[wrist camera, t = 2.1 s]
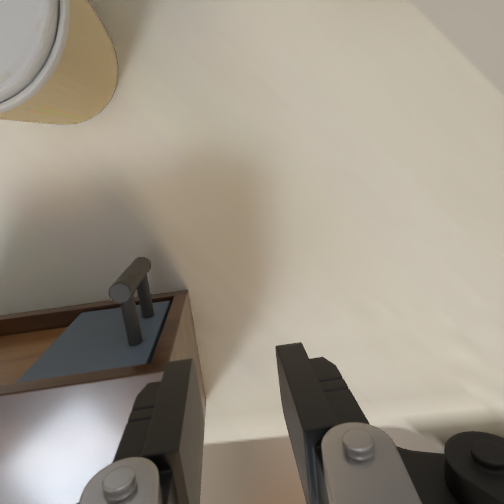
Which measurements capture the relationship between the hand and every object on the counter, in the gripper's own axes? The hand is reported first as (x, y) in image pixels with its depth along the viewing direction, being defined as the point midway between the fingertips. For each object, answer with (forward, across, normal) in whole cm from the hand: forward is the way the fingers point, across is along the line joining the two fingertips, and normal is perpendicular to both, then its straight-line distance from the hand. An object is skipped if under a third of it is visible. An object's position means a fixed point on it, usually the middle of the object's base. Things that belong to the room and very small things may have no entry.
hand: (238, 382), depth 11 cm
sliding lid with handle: (+18, +8, +2) cm, 20 cm away
